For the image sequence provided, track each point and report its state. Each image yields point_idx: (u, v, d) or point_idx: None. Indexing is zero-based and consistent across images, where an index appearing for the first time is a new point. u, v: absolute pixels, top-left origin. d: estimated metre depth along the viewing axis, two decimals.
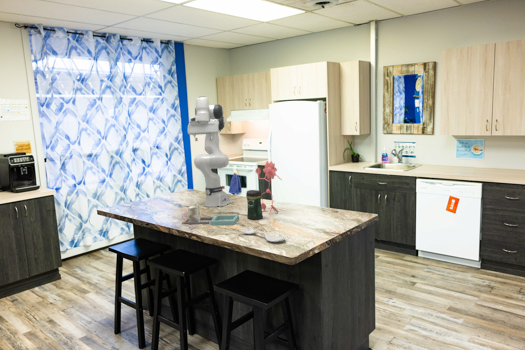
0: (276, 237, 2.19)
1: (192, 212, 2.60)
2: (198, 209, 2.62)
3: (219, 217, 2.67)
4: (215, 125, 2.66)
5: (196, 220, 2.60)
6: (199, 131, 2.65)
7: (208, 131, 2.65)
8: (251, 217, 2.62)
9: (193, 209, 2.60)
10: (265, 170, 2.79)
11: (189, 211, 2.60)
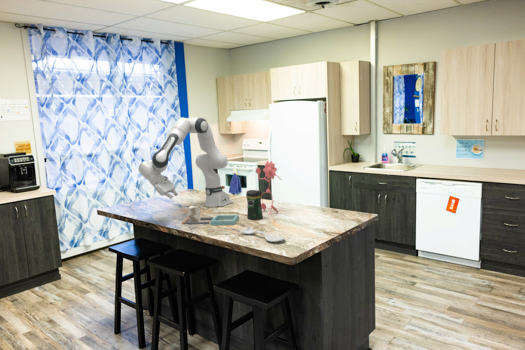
0: (276, 237, 2.19)
1: (192, 212, 2.60)
2: (198, 209, 2.62)
3: (219, 217, 2.67)
4: None
5: (196, 220, 2.60)
6: None
7: None
8: (251, 217, 2.62)
9: (193, 209, 2.60)
10: (265, 170, 2.79)
11: (189, 211, 2.60)
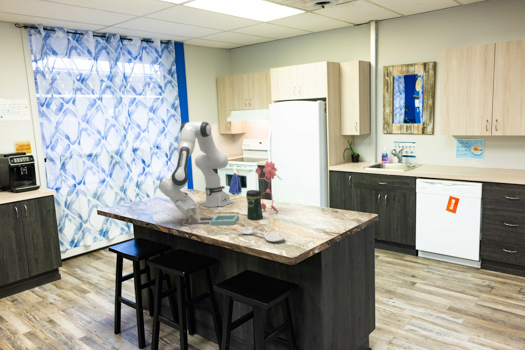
0: (275, 237, 2.19)
1: None
2: (198, 209, 2.62)
3: (219, 217, 2.67)
4: None
5: (196, 220, 2.60)
6: None
7: None
8: (251, 217, 2.62)
9: (193, 209, 2.60)
10: (265, 170, 2.79)
11: None
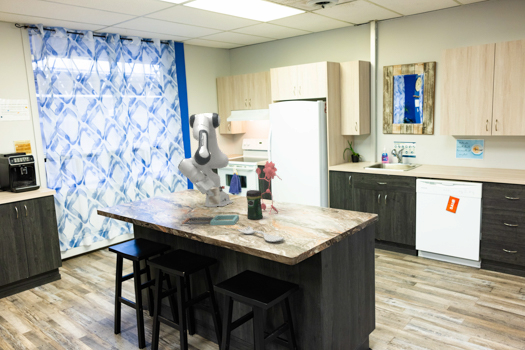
0: (275, 237, 2.19)
1: None
2: (218, 190, 2.58)
3: (219, 217, 2.67)
4: None
5: (216, 201, 2.57)
6: None
7: None
8: (251, 217, 2.62)
9: (213, 190, 2.56)
10: (265, 170, 2.79)
11: None
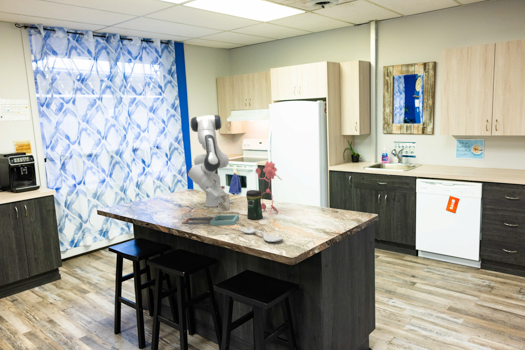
0: (274, 237, 2.19)
1: None
2: (228, 196, 2.58)
3: (219, 217, 2.67)
4: None
5: (226, 207, 2.56)
6: None
7: None
8: (251, 217, 2.62)
9: (223, 196, 2.55)
10: (265, 170, 2.79)
11: None
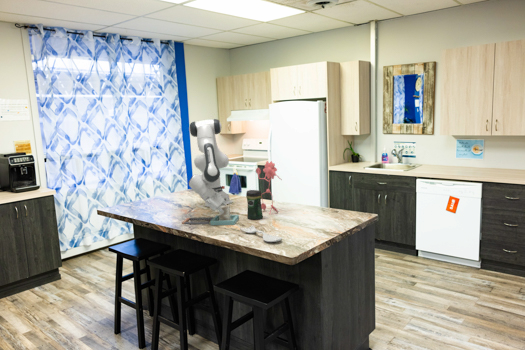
0: (274, 237, 2.18)
1: (223, 212, 2.57)
2: (229, 208, 2.59)
3: None
4: None
5: None
6: None
7: None
8: (251, 217, 2.62)
9: (224, 208, 2.57)
10: (265, 170, 2.79)
11: None
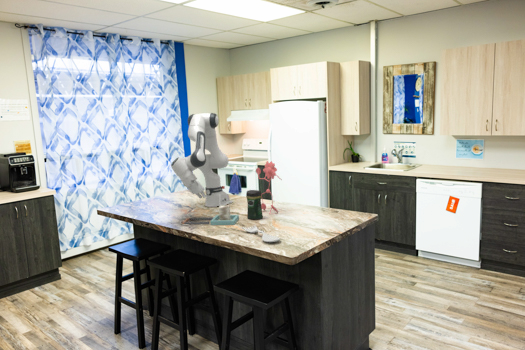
0: (273, 237, 2.18)
1: (223, 212, 2.57)
2: (229, 208, 2.59)
3: None
4: (195, 187, 2.53)
5: None
6: (194, 192, 2.63)
7: (197, 192, 2.58)
8: (251, 217, 2.62)
9: (224, 208, 2.57)
10: (265, 170, 2.79)
11: (220, 211, 2.57)
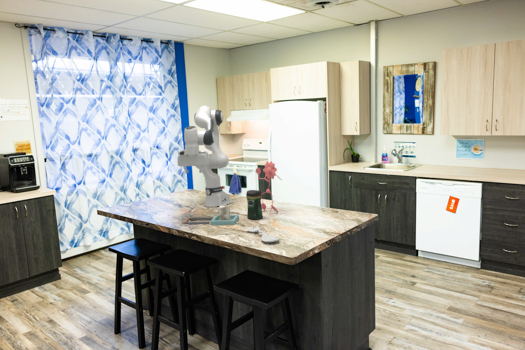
0: (272, 237, 2.18)
1: (223, 212, 2.57)
2: (229, 208, 2.59)
3: None
4: (204, 158, 2.62)
5: None
6: (189, 164, 2.64)
7: (197, 164, 2.63)
8: (251, 217, 2.62)
9: (224, 208, 2.57)
10: (265, 170, 2.79)
11: (220, 211, 2.57)
